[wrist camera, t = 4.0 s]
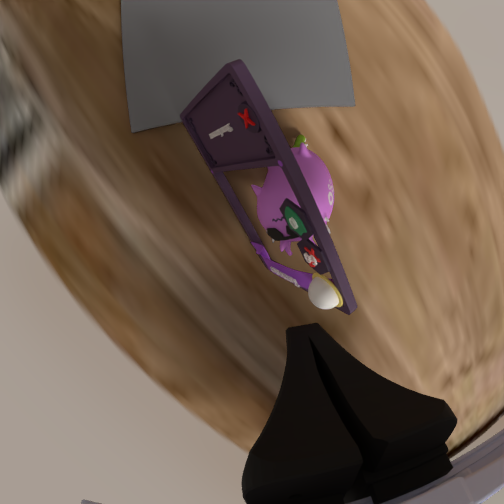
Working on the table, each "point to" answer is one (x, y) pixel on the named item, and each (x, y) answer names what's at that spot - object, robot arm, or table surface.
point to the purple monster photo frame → (270, 180)
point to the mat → (232, 53)
